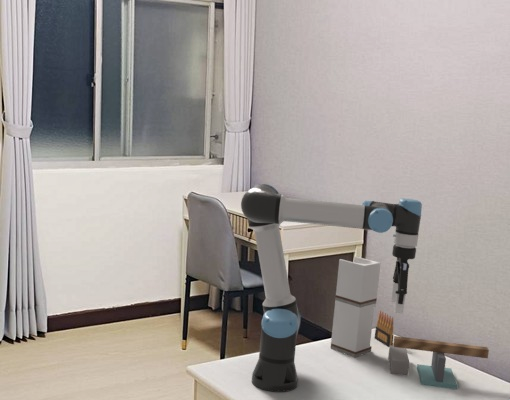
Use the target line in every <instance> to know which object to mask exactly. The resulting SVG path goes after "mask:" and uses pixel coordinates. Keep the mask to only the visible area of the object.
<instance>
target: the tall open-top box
mask: <svg viewBox="0 0 510 400" xmlns="http://www.w3.org/2000/svg"><path fill="white" fill-rule="evenodd" d="M353 258H354V259H353V261H350V260H345V259H342V258H340V259H339V261H338V268H337V269H338V270H337V281H336V288H335V289H336V291H335V299H334V301H335V302H334V310H333V311H334V312H333V320H332V331H331V338H330V339H331V341H330V349H331V350H334V351H337V352H339V353H342V354H344V353H345V355H347V356H349V357H350V356H351V357H353V358H357V357H360V356H363V355H366V354H368V353H371V352H372V346H371V341H372V329H373V320H374V312H375V308H376V307H377V301H378V300H377V299H378V291H379V289H378V288H379V281H380V273H381V272H380V271H381V262H380V261H379V262H378V261H375V260H371V259H366V258H363V257H359V256H354V257H353Z"/></svg>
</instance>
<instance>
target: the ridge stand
mask: <svg viewBox="0 0 510 400" xmlns="http://www.w3.org/2000/svg"><path fill="white" fill-rule="evenodd" d="M446 361H447V358H446V356H445V353H439V352H432V359H431V365H427V364H426V365H425V364H417V365H416V369H417V373H418V377H419V381H420V385H422V386H426V387H427V386H428V387H435V388H442V389H452V390H458V388H459V387H458V386H459V385H458V382H457V380H456V378H455V375H454V372H453V370H452V368H450V367H446Z"/></svg>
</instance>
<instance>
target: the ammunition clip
mask: <svg viewBox="0 0 510 400" xmlns="http://www.w3.org/2000/svg"><path fill="white" fill-rule="evenodd" d="M377 316H378V318H377V323H376V326H375V330H374V331H375V332H374V340H376V341H378V342H379V343H381V344H382V345H384V346H386V347H387V348H389V346H390V345H391V346H394V345H393V343H394V334H393V333H394V317H393V316H392V317H391V315H389V314H387V313H384V311H382V310H379V312H378V315H377Z"/></svg>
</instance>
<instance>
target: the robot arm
mask: <svg viewBox="0 0 510 400" xmlns="http://www.w3.org/2000/svg"><path fill="white" fill-rule="evenodd" d="M422 208H423V203H421V201H419V200H417V199H413V198H400V199H399V202H398V203H391V202H390V203H389V202H381V201H375V200H364V201H363V202H362V204H354V203H353V204H352V203H342V202H332V201H322V200H311V199H302V198H289V197H286V196H285V194H282V193H279V192H278V190H277V189H276V188H275V187H273V186H272V185H270V184H268V183H267V184H266V183H260V184H259V183H258V184H255V185H253V186H252V187H251V188H250V189H248V190H247V191H246V192H245V193H244V194H243V196H242V198H241V202H240V210H241V211H242V214H243V216H244V217H245V218H246V219H247V222H248V227H249V228H250V229H251V230H253V232H254V236H255V243H256V249H257V255H258V260H259V265H260V270H261V271H260V272H261V278H262V283H263V288H264V290H263V291H264V295H265V299H264V301H263V302H262V309H263V316H262V319H261V324H260V325H261V332H260V341H259V342H260V343H259V353H258V356H259V357H258V360H257V362H256V365H255V366H254V369H253V371H252V374H251V383H252V384H253V385H254V386H255V387H257V388H259V389H261V390H265V391H270V392H279V393H280V392H282V393H283V392H289V391H292V390H295V389H296V388H297V387H298V384H299V383H298V382H299V376H298V372H297V369H296V368H297V367H296V363H295V358H296V357H295V356H296V348H297V346H296V345H297V338H298V337H297V336H298V333H299V329H300V327H301V322H302V320H301V319H302V316H301V313H300V311H299V309H298V304H297V299H296V297H295V296H294V295H292V294H291V290H290V284H289V283H290V282H289V278H288V272H287V271H288V270H287V266H286V260H285V255H284V254H285V253H284V249H283V242H282V237H281V229H280V226H281V224H282V223H284V222H288V223H297V224H299V223H301V224H306V225H307V224H308V225H309V224H310V225H318V226H319V225H320V226H328V227H329V226H330V227H339V228H340V227H341V228H349V229H350V228H352V229H361V230H369V231H372V232H374V233H379V234H381V233H382V234H383V233H386V232H388V231H389V230H390V229H391V228H392V227H394V228H395V233H394V234H392V237H393V238H394V240H393V243H394V244H393V246H392V252H391V253H392V254H391V255H392V256H393V257H395V258H396V262H395V268H394V271H393V277H392V279H393V280H392V282H393V283H392V288H391V296H390V302H392V303H395V305H394V314H399V315H401V314H402V315H403V314H404V310H405V309H404V308H405V302H406V301H405V300H406V295H407V294H408V292H407V291H408V278H409V268H410V263H409V262H408V261H409V260H414V259H415V258H416V253H417V248H416V247H418V239H419V232H420V225H421V220H422V219H421V218H422Z"/></svg>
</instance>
